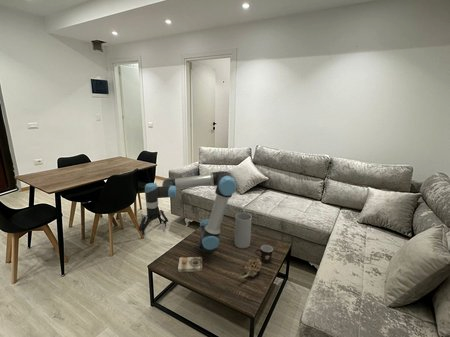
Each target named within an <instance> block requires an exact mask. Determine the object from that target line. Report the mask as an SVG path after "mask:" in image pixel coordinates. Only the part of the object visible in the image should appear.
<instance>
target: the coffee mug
mask: <svg viewBox="0 0 450 337" xmlns="http://www.w3.org/2000/svg"><path fill="white" fill-rule="evenodd" d="M257 251H259V252H260V255H259V254H258V252H257ZM273 252H274V248H273V246H271V245H269V244H268V245H267V244H264V245H261V246H260V249H256V250H255V254H256V255H257V256H258V257H259V258H260V259H261V260H260V261H261V263H264V264H270V263H271V260H272V256H273Z"/></svg>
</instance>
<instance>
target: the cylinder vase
mask: <svg viewBox="0 0 450 337" xmlns="http://www.w3.org/2000/svg"><path fill="white" fill-rule="evenodd" d="M252 217H253V216H252V214H250V213H248V212H237V213H236V214H235V223H234V228H235V229H234V246H235V247H237V248H239V249H247V248H249V247H250V245H251V234H252V219H253V218H252Z"/></svg>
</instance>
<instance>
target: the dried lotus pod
mask: <svg viewBox="0 0 450 337" xmlns="http://www.w3.org/2000/svg"><path fill="white" fill-rule="evenodd" d="M261 268H262V261H261V260H260V259H259V258H255V259H254V258H252V259H249V260H248V262H247V263H246V265H245V266H244V272H245V273H246V274H244V275H243V276H242V275H241V276H239V277H238V279H240V280H241V279H244V278H247V277H255V276H256V275H257V274H258V272H260V269H261Z"/></svg>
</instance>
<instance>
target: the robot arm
mask: <svg viewBox="0 0 450 337" xmlns="http://www.w3.org/2000/svg"><path fill="white" fill-rule="evenodd" d="M211 185H212V186H213V187H215V186H216V187H215V191H214V193H215V194H216V196H215V199H214V201H213V202H214V203H213V205H212V209H211V212H210V216H209V218H206V219H202V220H201V221H200V223H199V241H198V243H197V249H198V251H199V252H201V253H204V254H211V253H213V252H214V253H215V252H216V250H218V246H219V245H220V239H219V238H220V235H221V232H222V231H221V229H220V228H221V224H222V221H223V218H224V215H225V211H226V208H227V205H228V201H229V199H230V198H232V196H233V194H234V193H235V192H236V190H237V183H236V180H235V178H234V177H233V176H232V174H231V173H230V172H227V171H225V170H224V171H223V170H221V171H214V172H213V171H212V172H210V173H209V174H202V175H201V174H200V175H192V176H186V177H180V178H170V177H166V178H164V179H163V181H162V185H160V186H159V185H157V183H155V182H154V183H153V182H149V183H146V184H145V185H144V194H145V195H144V196H145V204H146V205H145V207H146V215H143V214H142V217H141V221H140V224H139V226H138V231H139V232H141V234H142V236H143V239H144V241H145V240H146V241H147V231H146V229H147V227H148V225H149V224H150V223H151V222H152V221H154V220H157V219H158V220H159V221H161V227H162V228H161V230H162V232H163V233H166V228H167V223H168V222H169V219H168V218H167V217H166V215H165V213H164V211H163V209H159V208H160V207H159V199H165V198H167V199H168V198H169V199H170V198H176V197H177V190H182V189H187V188H195V187H196V188H197V187H203V186H211ZM159 215H161V216H162V217H160V216H159Z"/></svg>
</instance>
